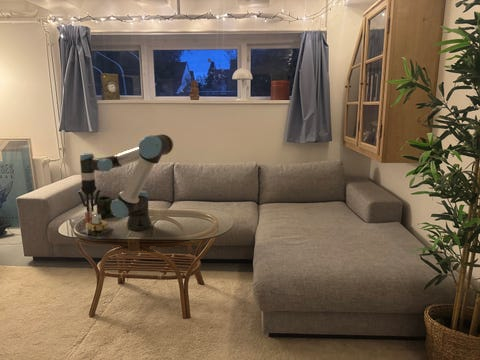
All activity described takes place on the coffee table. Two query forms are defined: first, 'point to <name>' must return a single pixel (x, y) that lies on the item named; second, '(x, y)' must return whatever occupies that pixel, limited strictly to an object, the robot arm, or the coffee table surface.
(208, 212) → the coffee table surface
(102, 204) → the mug
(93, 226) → the toothed crank wheel
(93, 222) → the spindle base
